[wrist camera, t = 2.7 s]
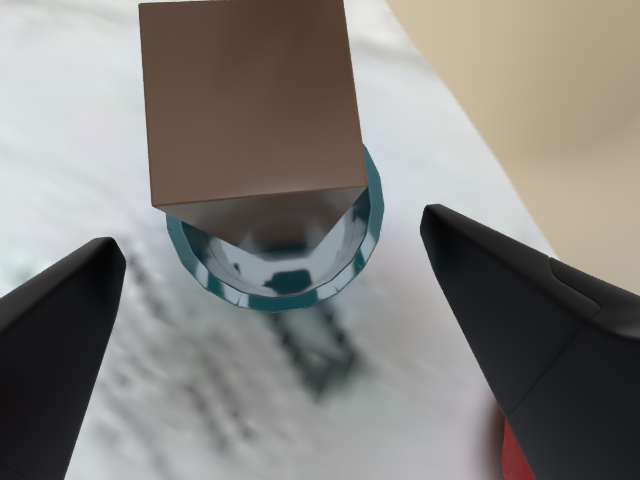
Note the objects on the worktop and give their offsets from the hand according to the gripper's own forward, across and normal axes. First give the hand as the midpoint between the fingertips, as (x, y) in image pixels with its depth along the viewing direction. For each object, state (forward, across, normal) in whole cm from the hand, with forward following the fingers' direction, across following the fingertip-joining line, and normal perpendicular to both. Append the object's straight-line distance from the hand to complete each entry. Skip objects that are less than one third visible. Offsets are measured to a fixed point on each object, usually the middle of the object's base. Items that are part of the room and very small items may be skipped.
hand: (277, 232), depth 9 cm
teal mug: (+10, 0, +5) cm, 11 cm away
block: (+8, 0, +5) cm, 10 cm away
